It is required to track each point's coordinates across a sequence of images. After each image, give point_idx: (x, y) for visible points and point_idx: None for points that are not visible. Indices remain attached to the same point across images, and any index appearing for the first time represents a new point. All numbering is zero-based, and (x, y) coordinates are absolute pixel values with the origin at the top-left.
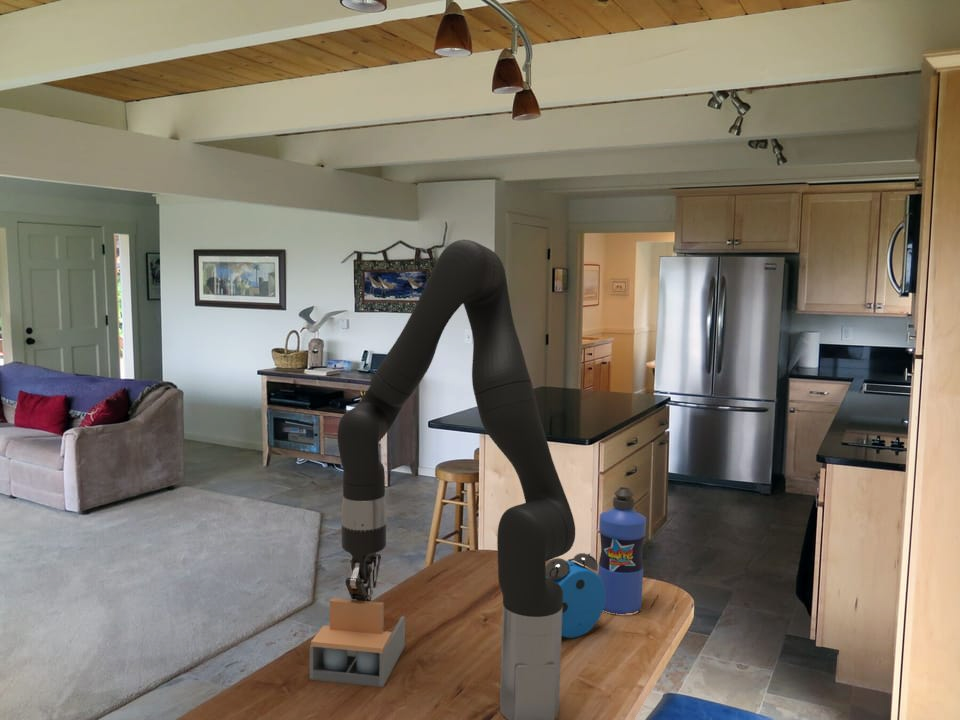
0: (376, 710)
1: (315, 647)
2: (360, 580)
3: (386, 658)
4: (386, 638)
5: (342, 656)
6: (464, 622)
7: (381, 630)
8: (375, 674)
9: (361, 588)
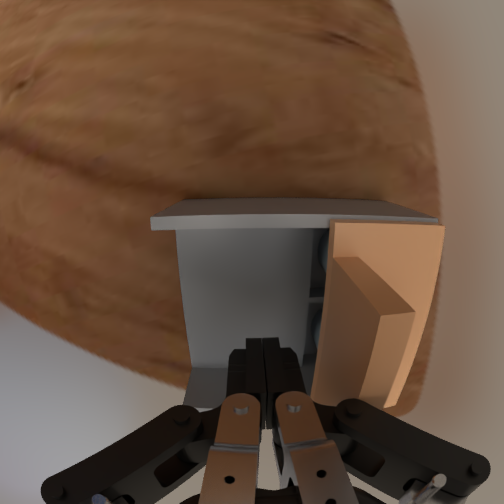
0: (437, 199)
1: None
2: (485, 475)
3: (392, 210)
4: (386, 230)
5: None
6: (31, 117)
7: (363, 262)
8: None
9: (454, 447)
